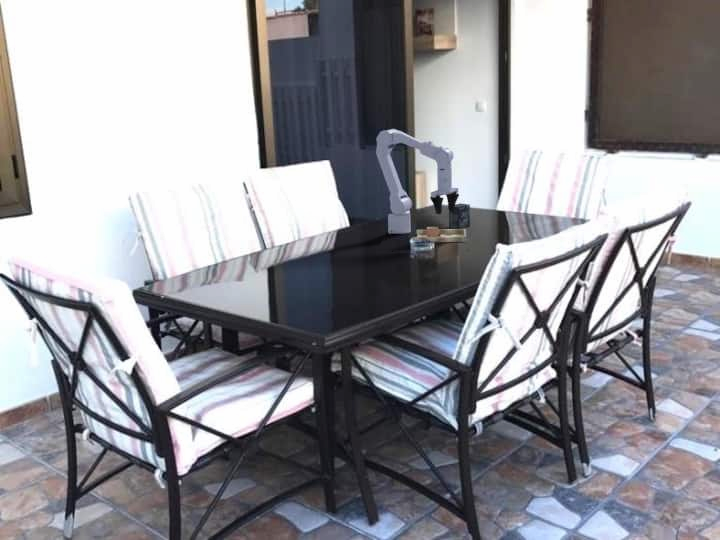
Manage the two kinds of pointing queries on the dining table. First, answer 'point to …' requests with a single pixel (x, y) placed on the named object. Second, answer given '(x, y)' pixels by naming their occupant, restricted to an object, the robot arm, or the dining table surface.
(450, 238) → the tray
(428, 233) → the block
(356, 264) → the dining table surface
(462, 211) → the box
